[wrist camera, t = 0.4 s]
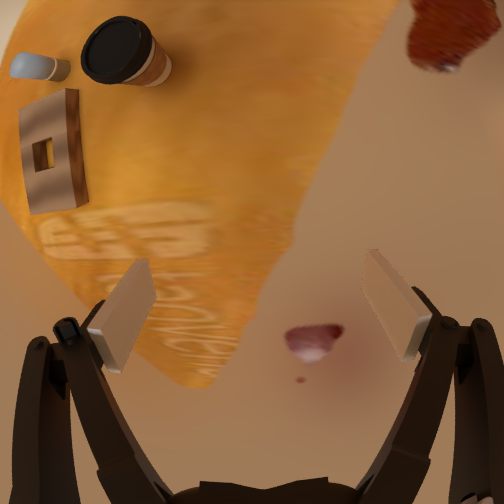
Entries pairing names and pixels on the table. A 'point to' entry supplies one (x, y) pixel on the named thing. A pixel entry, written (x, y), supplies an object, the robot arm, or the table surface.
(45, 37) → the table surface
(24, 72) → the peg
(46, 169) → the board
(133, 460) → the robot arm
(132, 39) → the coffee cup
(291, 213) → the table surface
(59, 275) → the table surface
